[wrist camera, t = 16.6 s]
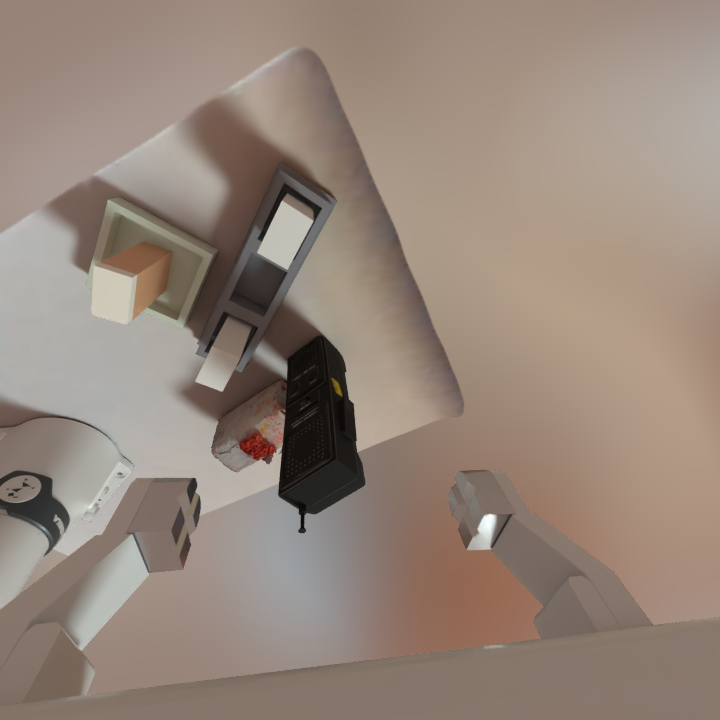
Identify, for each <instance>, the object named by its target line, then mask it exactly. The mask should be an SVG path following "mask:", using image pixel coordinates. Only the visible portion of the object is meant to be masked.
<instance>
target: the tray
mask: <svg viewBox="0 0 720 720" xmlns="http://www.w3.org/2000/svg"><path fill="white" fill-rule="evenodd" d="M141 242H147V243H150V244H152V245H155V246H158V247H161V248H164V249H166V250H169V251H172V258H171V264H170V270H169V276H168V283H167V289H166V291H165V292H164V293H163V294H162V295H160V296H159V297H158V298H157V299H156V300H155V301H154V302H153V303H151V304H150V305H149V306H148V307H147V308H146V309H145V310H144V311H142V312H144V313H147V314H149V315H151V316H154V317H156V318H158V319H161V320H163V321H165V322H168V323H170V324H172V325H175V326H177V327H179V328H181V329H182V328H183V327H184V325H185V324H186V323H187V322H188V320H189V318H190V315H191V313H192V311H193V308H194V306H195V304H196V301H197V299H198V297H199V294H200V292H201V290H202V287H203V285H204V283H205V280H206V278H207V276H208V273H209V271H210V269H211V266H212V264H213V262H214V259H215V257H216V255H217V252H218V249H216V248H214V247H212V246H210V245H208V244H206V243H205V242H203V241H201V240H199V239H197V238H195V237H193V236H192V235H190V234H188V233H186V232H184V231H182V230H181V229H179V228H177V227H175V226H173V225H171V224H169V223H168V222H166V221H164V220H162V219H160V218H158V217H156V216H155V215H153V214H151V213H149V212H147V211H145V210H143V209H142V208H140V207H138V206H136V205H134V204H132V203H130V202H129V201H127V200H125V199H123V198H121V197H118V198H112V199H108V201H107V205H106V209H105V213H104V216H103V220H102V224H101V228H100V232H99V236H98V239H97V243H96V247H95V251H94V255H93V258H92V262H91V266H90V270H89V274H88V278H87V281H86V285H85V287H86V288H88V289H91V290H93V271H94V265H96V264H98V263H100V262H102V261H104V260H106V259H108V258H110V257H112V256H114V255H116V254H119V253H121V252H123V251H125V250H127V249H129V248H131V247H133V246H135V245H137V244H139V243H141Z"/></svg>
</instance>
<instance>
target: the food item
mask: <svg viewBox="0 0 720 720" xmlns="http://www.w3.org/2000/svg"><path fill="white" fill-rule="evenodd" d="M286 390H287V383H285V382H284V381H283V380H282V379H281V380H279V381H277V382H276V383H274V384H272V385H271V386H269V387H267V388H265V389H264V390H262V391H261V392H259V393H258V394H256V395H255V396H254V397H252V398H250V399H249V400H247V401H246V402H244V403H242V404H241V405H239V406H238V407H236V408H235V409H234V410H232V411H231V412H229V413H228V414H226V415H225V416H223V417H221V418H220V419H219V420H218V421H219V423H218V425H217V428H216V432H215V436H214V440H213V444H212V447H211V448H212V454H213V455H214V457H215V458H218V459H219V460H220V461H221V462H222V463H223V464H224V465H225V466H226V467H228V468H229V469H231V470H232V471H234V472H239V471H240V470H242V469H243V468H245V467H247V466H249V465H251V464H253V463H255V462H256V461H258V460H260V459H262V460H263V461H266V463H267V464H270V462H271V461H272V457H273V453H274V452H275V453H276V450H277V449H279V448H280V447H282V446H283V434H284V423H285V410H286ZM280 453H282V450H281V452H280ZM280 453H279V454H280ZM270 456H271V457H270ZM263 457H264V458H263ZM268 462H269V463H268Z"/></svg>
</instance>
